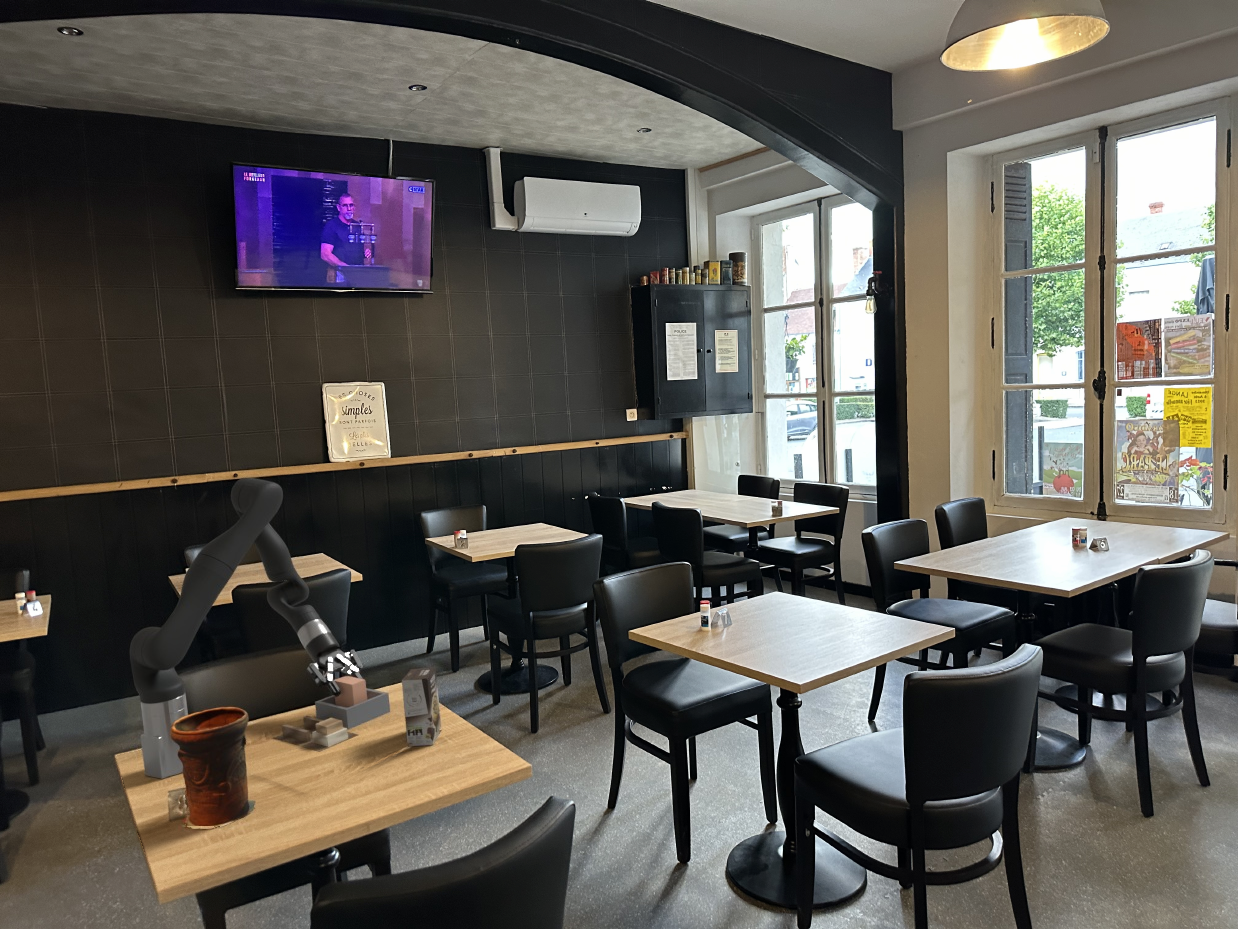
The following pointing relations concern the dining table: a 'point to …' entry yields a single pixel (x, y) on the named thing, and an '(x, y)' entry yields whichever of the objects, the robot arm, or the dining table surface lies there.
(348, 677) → the salmon pink block
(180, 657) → the robot arm
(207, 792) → the vessel
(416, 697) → the coffee box
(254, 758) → the dining table surface
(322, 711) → the charcoal bin
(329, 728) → the upper offcut
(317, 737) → the block
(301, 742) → the walnut rack
